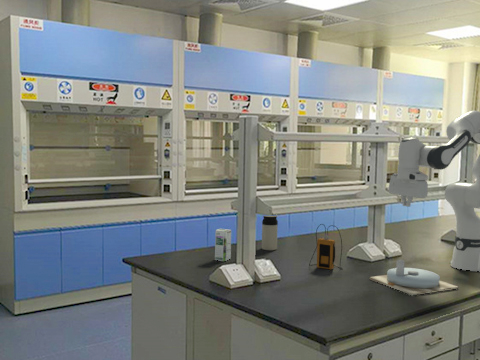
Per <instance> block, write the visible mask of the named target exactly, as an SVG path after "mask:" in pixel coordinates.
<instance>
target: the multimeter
mask: <svg viewBox="0 0 480 360" xmlns="http://www.w3.org/2000/svg"><path fill="white" fill-rule="evenodd" d="M321 225H322V226H324V237H323V238H322V237H320V238H317V232H318V228H319V227H320V226H321ZM330 227H335V228H336V229H337V231H338V233H339V236H340V244H341V246H343V241H342V240H343V239H342V235H341V232H340V229H339V228H338V227H337V226H336V225H333V224H331V225H329V226H328V227H327V228H326V225H325V224H324V223H321V224H319V225H318V226H317V228H316V231H315V240H316V246H315V247H316V248H315V250H314V251H313V254H312V256H311V259H310V261H309V264H308V266H309V267H311V266H316V267H317V268H319V269H320V268H321V269H326V270H327V269H328V270H333V269H334V268H335V267H334V266H336V267H337V268H338V269H341V270H343V267H341V266H340V265H338V264H337V263H335V260H336V241H335V240H334V239H329V228H330ZM326 230H327V231H326ZM315 252H316V263H315V264H311V262H312V259H313V257H314V254H315ZM342 255H343V248H341V251H340V256H342ZM341 261H342V257H340V260H339V264H341V263H342V262H341Z"/></svg>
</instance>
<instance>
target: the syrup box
mask: <svg viewBox="0 0 480 360" xmlns="http://www.w3.org/2000/svg"><path fill="white" fill-rule="evenodd" d="M214 234H215V236H214V237H215V241H214V242H215V243H214V249H215V250H214V261H217V260H218V262H219V261H220V262H224V261H226V262H228V261H230V260H231V257H232V253H231V252H232V229H226V228H217V229H216V230H215V233H214ZM229 259H230V260H229ZM227 260H228V261H227Z"/></svg>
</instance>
